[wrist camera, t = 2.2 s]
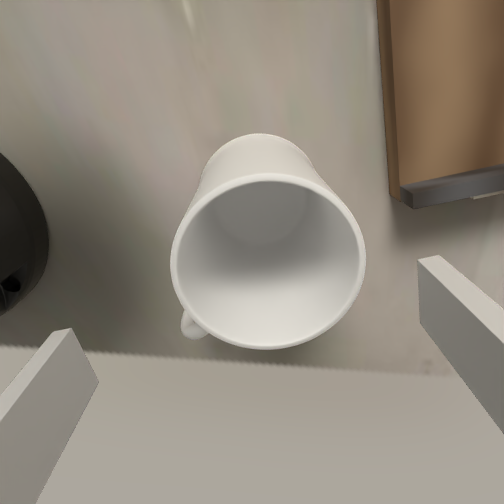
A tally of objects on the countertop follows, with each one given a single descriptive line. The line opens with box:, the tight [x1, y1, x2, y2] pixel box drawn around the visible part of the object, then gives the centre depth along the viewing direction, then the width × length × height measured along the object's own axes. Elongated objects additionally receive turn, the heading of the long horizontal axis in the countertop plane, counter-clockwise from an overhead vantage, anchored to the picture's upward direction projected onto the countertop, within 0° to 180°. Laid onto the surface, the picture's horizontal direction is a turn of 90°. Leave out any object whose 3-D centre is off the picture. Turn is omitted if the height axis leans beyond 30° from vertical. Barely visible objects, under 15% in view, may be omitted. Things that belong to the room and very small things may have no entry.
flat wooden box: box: [377, 0, 504, 209], centre depth 20 cm, size 12×20×4 cm, turn 12°
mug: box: [170, 134, 366, 350], centre depth 21 cm, size 12×8×12 cm
